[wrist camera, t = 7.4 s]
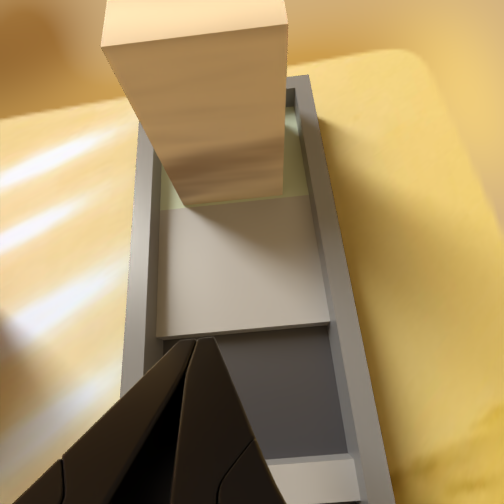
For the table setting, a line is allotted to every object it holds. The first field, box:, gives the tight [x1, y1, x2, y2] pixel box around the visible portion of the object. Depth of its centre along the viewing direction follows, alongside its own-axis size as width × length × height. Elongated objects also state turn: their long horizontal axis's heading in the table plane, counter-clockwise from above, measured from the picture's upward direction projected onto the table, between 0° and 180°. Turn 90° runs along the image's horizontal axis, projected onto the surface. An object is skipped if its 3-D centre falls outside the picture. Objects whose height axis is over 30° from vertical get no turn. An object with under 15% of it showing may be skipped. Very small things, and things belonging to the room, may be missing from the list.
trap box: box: [120, 75, 396, 504], centre depth 17 cm, size 30×11×3 cm, turn 4°
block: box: [101, 0, 288, 205], centre depth 16 cm, size 6×6×10 cm
